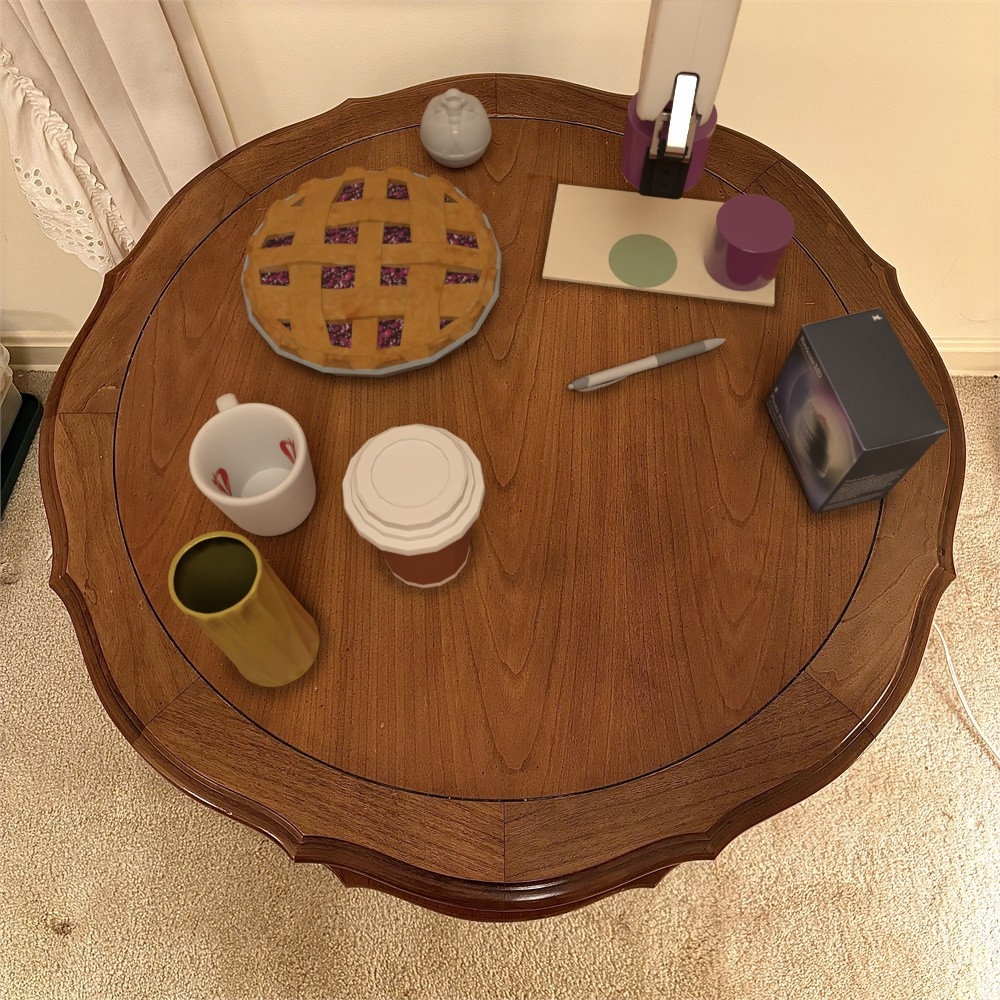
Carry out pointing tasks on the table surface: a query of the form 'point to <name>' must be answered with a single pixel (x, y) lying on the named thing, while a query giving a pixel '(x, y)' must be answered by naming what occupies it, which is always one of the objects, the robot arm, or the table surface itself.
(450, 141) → the figurine
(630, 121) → the purple short cylinder
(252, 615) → the vase
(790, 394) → the small box
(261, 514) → the cup
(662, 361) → the pen
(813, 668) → the table surface
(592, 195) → the placemat
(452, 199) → the pie
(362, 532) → the coffee cup
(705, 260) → the purple cylinder puck
